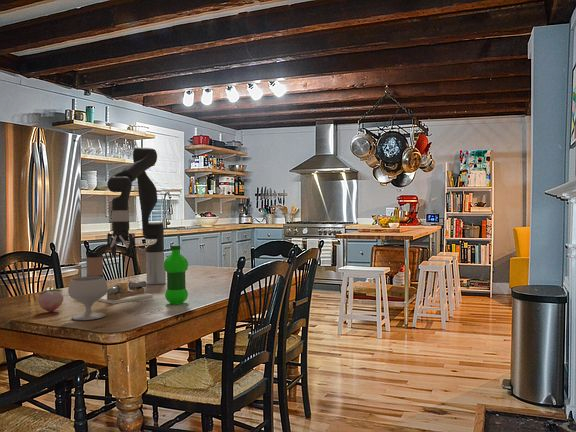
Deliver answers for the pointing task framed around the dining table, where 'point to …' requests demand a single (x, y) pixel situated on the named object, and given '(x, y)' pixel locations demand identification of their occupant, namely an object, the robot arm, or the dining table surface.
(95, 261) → the travel mug
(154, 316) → the dining table surface
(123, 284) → the coupler
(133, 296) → the pale beige flat slab
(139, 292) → the shaft
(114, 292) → the grey rounded block
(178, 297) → the plastic bottle
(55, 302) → the decorative fruit
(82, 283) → the chalice
